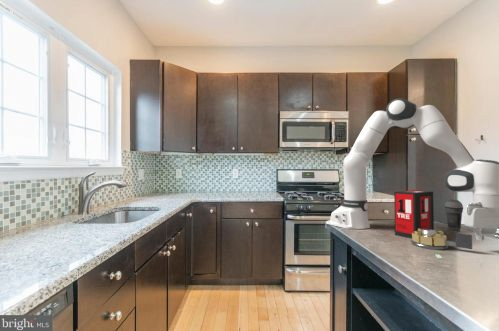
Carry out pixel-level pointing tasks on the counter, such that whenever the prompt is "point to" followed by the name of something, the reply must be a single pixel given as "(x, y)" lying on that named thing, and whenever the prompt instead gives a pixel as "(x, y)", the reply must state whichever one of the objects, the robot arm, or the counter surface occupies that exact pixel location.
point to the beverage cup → (454, 214)
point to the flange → (429, 233)
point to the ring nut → (443, 239)
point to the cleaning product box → (413, 212)
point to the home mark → (438, 256)
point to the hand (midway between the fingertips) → (489, 238)
